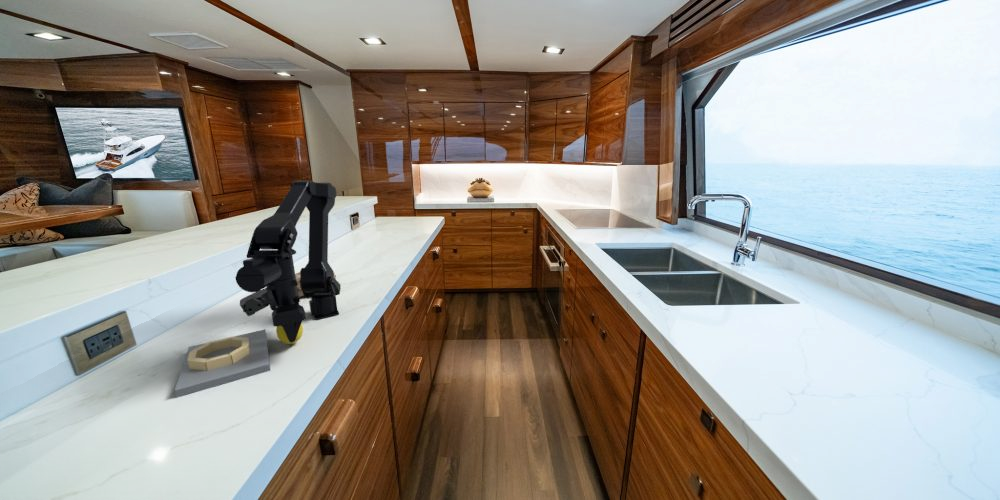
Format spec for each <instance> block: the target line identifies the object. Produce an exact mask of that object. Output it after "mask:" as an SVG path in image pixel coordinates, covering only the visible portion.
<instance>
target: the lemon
mask: <svg viewBox="0 0 1000 500" xmlns="http://www.w3.org/2000/svg"><path fill="white" fill-rule="evenodd" d="M303 326H304V325H303V322H302V323H301V326H300V328H299V331H298V334H297V337H296V340H295V341H294V342H291V343H290V342H289V340H288V338H287V335H286V333H285V331H284V329H283V327H282V326H277V327H276V326H275V328H276V336H277V338H278V340H279V341H280V342H281V343H283V344H286V345H287V344H288V345H291V346H293V345H294V344H296V343H297V342H298V341H299V340H300V339H301V338H302V336H303V332H304V327H303Z"/></svg>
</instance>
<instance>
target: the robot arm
mask: <svg viewBox="0 0 1000 500" xmlns="http://www.w3.org/2000/svg"><path fill="white" fill-rule="evenodd" d="M336 197H337V188H336V187H335V186H333V185H332V183H331V182H316V181H311V180H295V181H292V182H291V184H290V188H289V190H288V192H287V194H286V195H285V197H284V198H283V200H282V202H281V203H280V205H279V206H278V208H277V209H276V211H275V213H273V215H271V216H269V217H267V218H264V219H263V220H262V221H261V222H260V223H258V225H257V226H256V227H255V229H254V230H253V233H252V236H251V240H250V242H249V246H248V248H247V249H248V250H247V254H246V258H247V259H244V260H243V261H242V264H243V266H242V267H240V268H239V269H238V270H237V272H236V275H235V281H236V284H237V286H238V287H239V288H240V289H241V290H243V291H244V292H248V293H251V294H249V295H246V296H245V297H242V298H241V299H240V300H239V307H240V308H241V309H242V312H243V313H245V314H246V316H247V317H251V316H253V315H255V314H256V313H258V312H259V311H261V310H263V309H266V308H267V307H269V308H270V309H271V311H272V312H271V318H272V323H273V324H272V325H273V327H275V328H276V327H277V326H282V327H283V329H284V331H285V333H286V335H287V338H288V340H289V342H290V343H291V342H294V341H295V340H296V337H297V334H298V331H299V328H300V326H301V323H302V324H303V321H306V319H307V316H306V311H305V308H304V306H303V305H301V304H300V302H301V297H299V295H298V290H297V280H296V276H295V274H296V271H295V266H294V259H293V255H296V254H297V251H296V250H295V249H293V247H294V245H295V243H296V240H297V238H298V237H297V236H298V231H297V228H296V227H297V223H298V222H299V220H300V218H301V216H302V215H303V212H304V211H305V208H306V209H307V211H308V212H309V216H308V218H309V220H308V221H309V222H308V224H309V225H308V262H307V264H306V265H305V267H301V269H300V271H299V272H300V274H301V278H300V287H301V290H302V292H303V295H304V296H303V297H304V298H310V299H309V301H308V304H309V311H310V315H311V316H312V317H313V319H314V320H316V321H317V320H320V319H326V318H328V317H334V316H337V315H340V312H339V310H338V305H337V304H338V303H337V296H339V295H340V294H341V289H342V288H341V283H340V282H339V281H338V279H337V278H334V275H335V274H334V273H335V272H334V270H333V268H332V266H331V265H330V264H329V262H328V258H329V256H328V255H329V253H328V250H329V247H328V246H329V243H328V242H329V214H330V212H331V210H332V209H333V208H334V206H335V202H336Z"/></svg>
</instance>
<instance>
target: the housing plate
mask: <svg viewBox="0 0 1000 500" xmlns="http://www.w3.org/2000/svg"><path fill="white" fill-rule="evenodd" d="M267 338H268V337H267V332H266V329H265V328H264V329H261V330H255V331H252V332H248V333H244V334H243V333H242V334H238V335H235V336H229V337H225V338H220V339H216V340H211V341H208V342H205V343H199V344H196V345H190V346H188V348H187V351H186V355H185V357H184V360H183V363H182V366H181V370H180V372H179V377H178V379H177V382H176V385H175V388H174V393H175V397H176V398H179V397H183V396H186V395H190V394H193V393H197V392H201V391H204V390H206V389H210V388H215V387H218V386H221V385H224V384H227V383H231V382H234V381H239V380H241V379H245V378H249V377H252V376H255V375H256V376H257V375H259V374H263V373H266V372H269V371H270V372H271V363H270V354H269V347H268V339H267Z"/></svg>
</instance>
